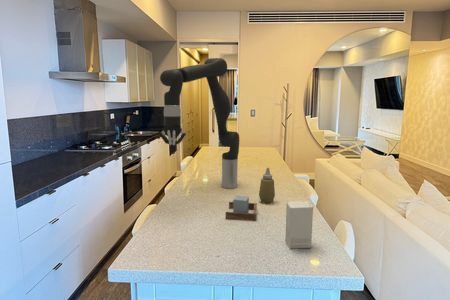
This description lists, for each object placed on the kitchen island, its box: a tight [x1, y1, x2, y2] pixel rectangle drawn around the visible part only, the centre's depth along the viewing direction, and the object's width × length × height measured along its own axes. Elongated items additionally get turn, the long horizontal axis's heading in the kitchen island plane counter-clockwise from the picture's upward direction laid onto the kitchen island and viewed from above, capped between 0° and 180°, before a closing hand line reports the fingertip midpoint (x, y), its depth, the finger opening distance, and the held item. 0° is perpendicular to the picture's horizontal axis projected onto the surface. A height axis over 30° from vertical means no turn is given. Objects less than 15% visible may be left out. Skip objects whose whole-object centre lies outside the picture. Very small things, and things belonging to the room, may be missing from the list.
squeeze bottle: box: [258, 167, 276, 205], centre depth 152 cm, size 8×8×18 cm
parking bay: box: [225, 201, 258, 222], centre depth 137 cm, size 14×13×3 cm
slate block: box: [232, 195, 250, 213], centre depth 136 cm, size 6×6×8 cm
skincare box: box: [285, 200, 314, 249], centre depth 108 cm, size 8×7×16 cm
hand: (173, 152), depth 139 cm, fingers closed
